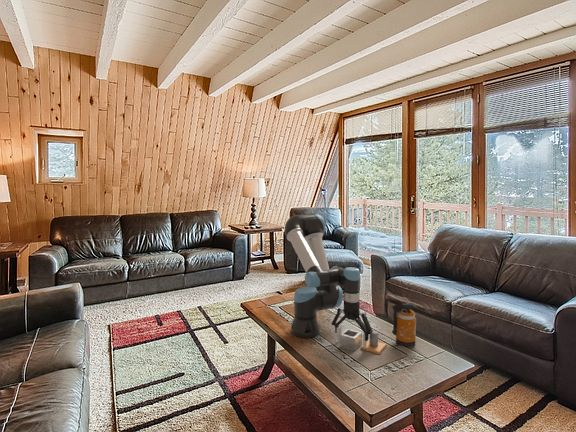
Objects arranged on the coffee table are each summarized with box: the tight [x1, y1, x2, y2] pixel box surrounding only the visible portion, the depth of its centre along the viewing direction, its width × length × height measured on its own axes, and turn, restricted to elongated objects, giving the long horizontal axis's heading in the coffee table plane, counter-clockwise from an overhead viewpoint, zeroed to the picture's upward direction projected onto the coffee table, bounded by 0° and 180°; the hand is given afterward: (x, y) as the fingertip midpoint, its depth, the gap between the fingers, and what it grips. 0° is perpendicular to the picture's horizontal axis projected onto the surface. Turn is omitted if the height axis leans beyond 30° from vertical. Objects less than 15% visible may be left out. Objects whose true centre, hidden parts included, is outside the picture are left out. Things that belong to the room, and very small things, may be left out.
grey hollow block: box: [338, 327, 363, 352], centre depth 166 cm, size 8×8×6 cm
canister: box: [391, 301, 417, 347], centre depth 167 cm, size 9×11×20 cm
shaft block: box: [360, 330, 387, 355], centre depth 163 cm, size 9×9×8 cm
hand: (351, 343), depth 166 cm, fingers open, 13 cm apart
